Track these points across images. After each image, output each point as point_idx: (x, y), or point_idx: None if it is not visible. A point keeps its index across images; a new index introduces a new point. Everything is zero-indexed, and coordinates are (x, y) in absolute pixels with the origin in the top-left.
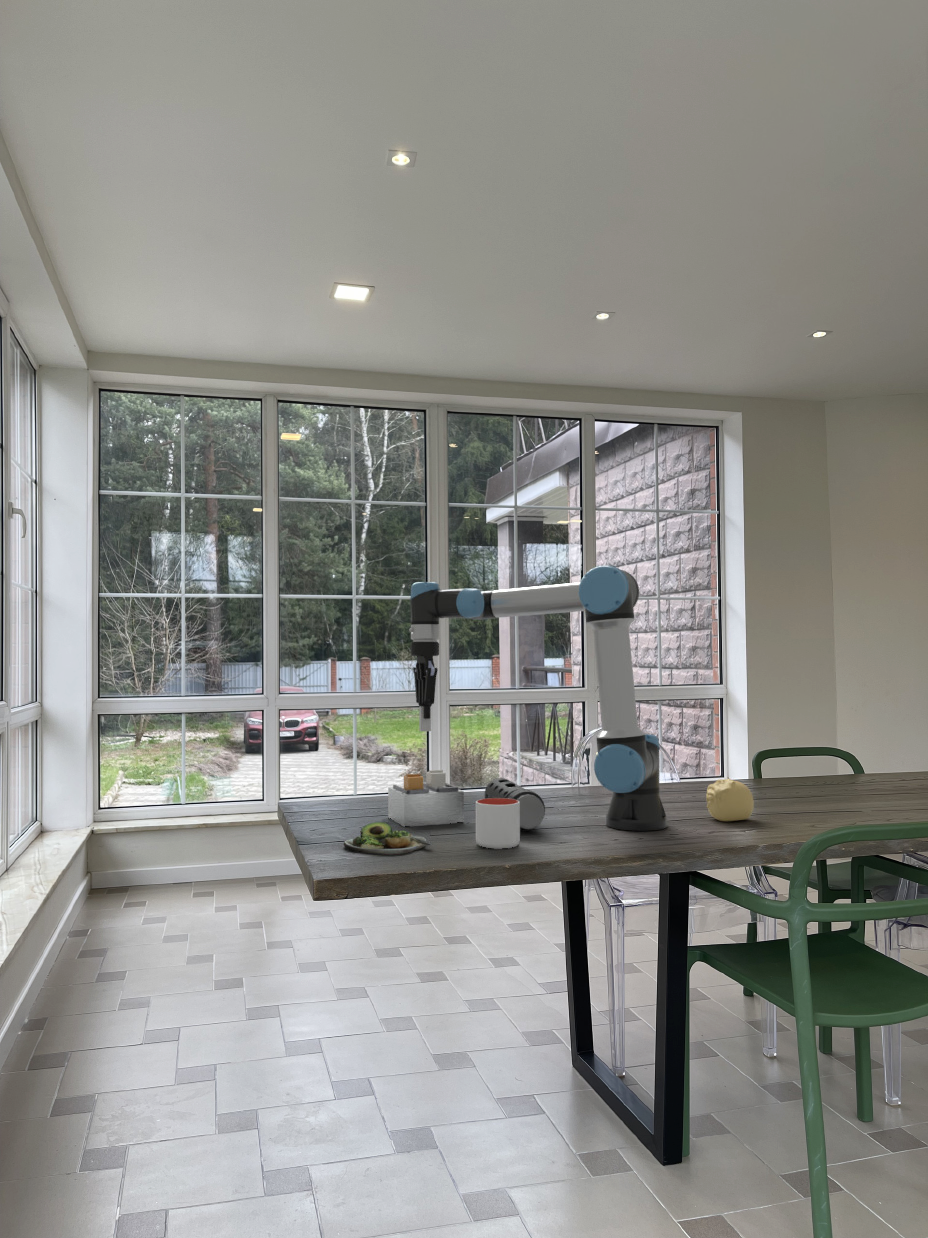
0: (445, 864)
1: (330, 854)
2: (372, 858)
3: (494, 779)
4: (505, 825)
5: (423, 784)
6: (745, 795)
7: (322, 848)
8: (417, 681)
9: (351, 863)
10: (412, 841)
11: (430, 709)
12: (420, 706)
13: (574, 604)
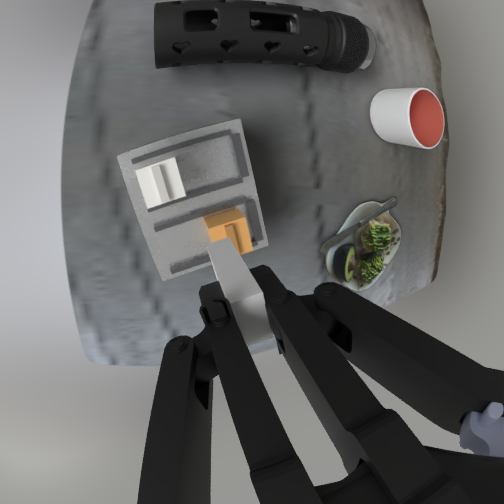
0: (432, 191)
1: (374, 295)
2: (399, 255)
3: (155, 36)
4: (425, 117)
5: (159, 208)
6: None
7: None
8: (208, 489)
9: (406, 271)
10: (377, 218)
11: (257, 284)
12: (262, 340)
13: None
